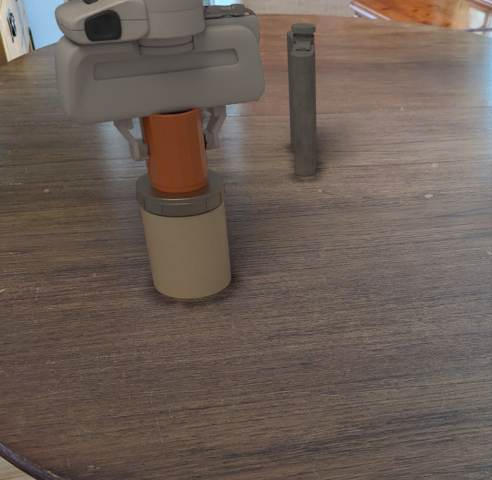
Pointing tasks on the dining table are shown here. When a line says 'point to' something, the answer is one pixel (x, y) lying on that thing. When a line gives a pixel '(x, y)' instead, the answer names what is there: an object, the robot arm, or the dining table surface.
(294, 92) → the hip flask
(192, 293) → the jar
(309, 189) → the dining table surface
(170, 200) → the jar lid
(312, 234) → the dining table surface
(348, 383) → the dining table surface
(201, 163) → the cup
